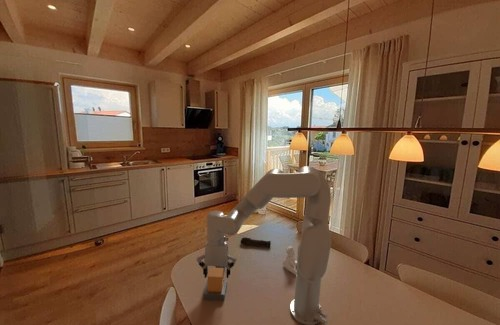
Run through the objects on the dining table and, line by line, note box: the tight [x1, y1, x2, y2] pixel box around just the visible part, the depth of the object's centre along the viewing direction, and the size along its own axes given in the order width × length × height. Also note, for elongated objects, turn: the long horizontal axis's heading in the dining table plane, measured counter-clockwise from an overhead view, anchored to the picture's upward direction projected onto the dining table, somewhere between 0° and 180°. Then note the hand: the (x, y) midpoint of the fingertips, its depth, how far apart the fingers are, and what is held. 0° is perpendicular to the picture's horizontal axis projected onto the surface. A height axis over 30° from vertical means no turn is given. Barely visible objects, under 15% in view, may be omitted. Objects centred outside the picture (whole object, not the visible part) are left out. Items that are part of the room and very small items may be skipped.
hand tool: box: [240, 237, 272, 249], centre depth 133 cm, size 19×4×5 cm, turn 79°
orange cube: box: [207, 267, 225, 292], centre depth 94 cm, size 6×6×7 cm
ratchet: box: [202, 266, 228, 302], centre depth 105 cm, size 29×9×6 cm, turn 179°
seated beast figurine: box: [282, 245, 297, 276], centre depth 112 cm, size 10×9×12 cm
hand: (217, 275), depth 94 cm, fingers open, 9 cm apart
